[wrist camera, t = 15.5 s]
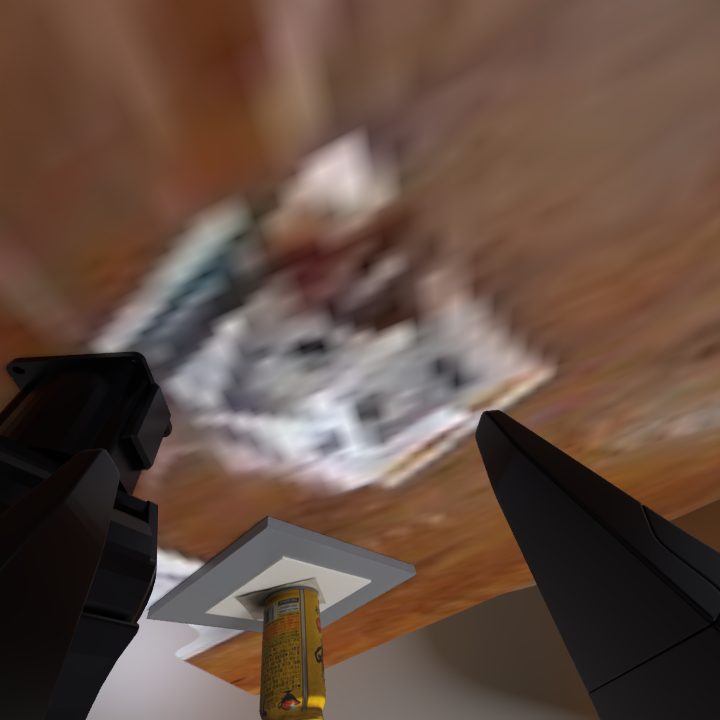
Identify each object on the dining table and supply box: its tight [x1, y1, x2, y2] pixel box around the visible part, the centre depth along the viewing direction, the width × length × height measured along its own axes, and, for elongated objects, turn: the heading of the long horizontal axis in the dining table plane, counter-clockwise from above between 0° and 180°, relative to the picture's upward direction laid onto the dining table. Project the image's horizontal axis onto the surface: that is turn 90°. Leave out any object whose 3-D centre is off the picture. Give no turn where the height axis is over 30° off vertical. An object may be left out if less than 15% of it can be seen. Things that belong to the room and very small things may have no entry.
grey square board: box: [147, 516, 416, 633], centre depth 39 cm, size 22×20×1 cm
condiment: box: [235, 578, 326, 720], centre depth 34 cm, size 7×8×12 cm
